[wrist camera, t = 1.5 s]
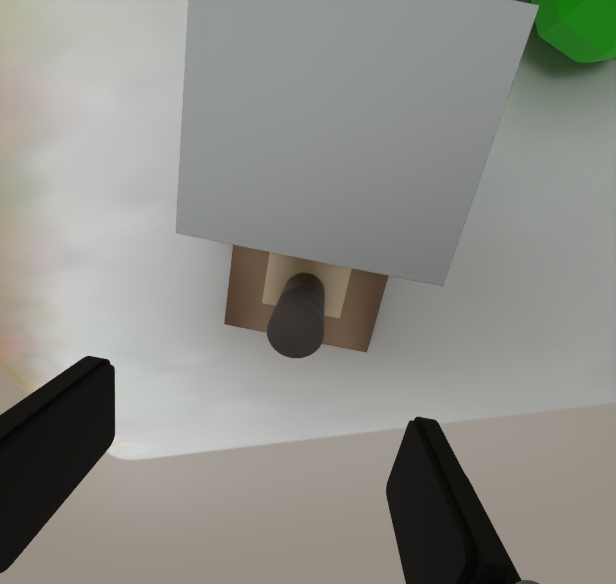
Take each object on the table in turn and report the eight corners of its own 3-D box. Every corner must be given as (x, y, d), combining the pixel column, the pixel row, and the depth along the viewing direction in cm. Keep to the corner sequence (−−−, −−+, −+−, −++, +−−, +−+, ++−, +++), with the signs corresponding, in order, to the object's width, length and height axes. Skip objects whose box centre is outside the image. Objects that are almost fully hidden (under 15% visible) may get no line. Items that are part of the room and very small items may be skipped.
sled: (423, -41, 17) (499, -224, 10) (339, 313, 24) (344, 368, 17) (320, -62, 17) (314, -262, 10) (264, 298, 24) (235, 346, 16)
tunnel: (450, 84, 19) (539, 5, 11) (401, 253, 23) (443, 286, 15) (248, 43, 19) (192, -65, 11) (229, 219, 23) (175, 233, 15)
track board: (475, -55, 18) (486, -73, 17) (365, 345, 26) (366, 353, 25) (277, -95, 18) (274, -116, 17) (228, 318, 26) (223, 324, 25)
